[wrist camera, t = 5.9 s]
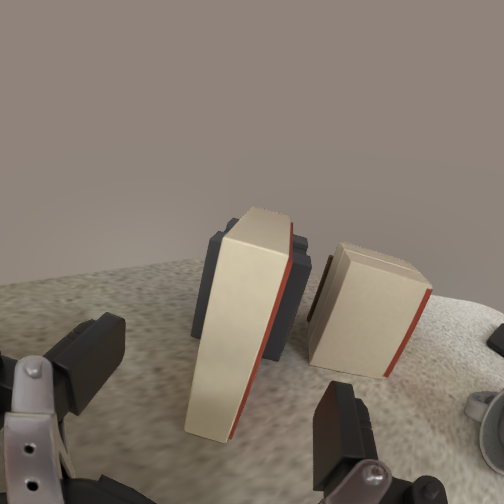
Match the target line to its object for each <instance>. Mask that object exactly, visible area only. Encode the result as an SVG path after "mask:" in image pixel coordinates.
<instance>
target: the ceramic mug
mask: <svg viewBox="0 0 504 504" xmlns="http://www.w3.org/2000/svg"><path fill="white" fill-rule="evenodd" d="M464 411H465V414H466V415H467V416H468V417H469V418H471V419H473V420H475V421H477V422H480V423H481V426H480V433H479V442H480V449H481V452H482V455H483V457H484V459H485V461H486V463H487V464H488V465H489V466H490V467H491V468H492V469H493V470H494V471H495V472H497V473H499V474H502V475H504V389H503V390H501V391H500V392H490V391H481V392H475V393H472V394H470V395H469V396H468V399H467V403H466V406H465V410H464Z"/></svg>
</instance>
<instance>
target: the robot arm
mask: <svg viewBox="0 0 504 504" xmlns="http://www.w3.org/2000/svg"><path fill="white" fill-rule="evenodd" d="M125 330H126V322H125V319H124V318H121V317H119V316H116V315H114V314H111V313H109V312H106V313H104V314H103V315H102V316H101V317H100V318H99V319H98V320H93V319H91V320H88V321H86V322H83V323H81V324H79V325H78V326H77V327H76V328H75V329H74V330H73V331H71V332H70V333H69V334H68V335H66V337H64V338H63V339H62V340H61V341H60V342H58V343H57V344H56V345H55V346H54V347H53V348H51V349H50V350H49V351H48V352H47V353H46V354H45V355H43V356H38V355H29V356H26V357H23V358H22V359H20V360H19V361H17V360H14V359H11V358H8V357H5V356H2V355H1V351H0V430H1V428H2V427H3V426H4V465H5V481H6V492H5V493H0V504H156V503H155V502H153V501H152V500H150V499H149V498H147V497H145V496H144V495H142V494H141V493H139V492H138V491H136V490H135V489H133V488H131V487H129V486H126V485H124V484H122V483H120V482H117V481H115V480H113V479H111V478H109V477H107V476H105V475H103V474H102V475H101V477H100V478H99V480H98V481H97V480H92V479H85V478H76V476H75V473H74V469H73V466H72V462H71V458H70V452H69V446H68V439H67V432H66V424H65V418H64V416H65V415H66V414H67V413H68V411H70V412H71V413H73V414H75V415H77V416H79V415H80V414H81V412H82V411H83V410H84V409H85V407H86V406H87V405H88V403H89V402H90V401H91V400H92V398H93V397H94V396H95V395H96V393H97V392H98V391H99V390H100V388H101V387H102V386H103V385H104V383H105V382H106V381H107V380H108V378H109V377H110V376H111V375H112V373H113V372H114V371H115V370H116V368H117V367H118V366H119V365H120V363H121V361H122V359H123V357H124V353H125ZM371 428H372V426H371V422H370V417H369V413H368V409H367V407H366V406H365V404H364V403H363V402H362V400H361V399H358V398H355V396H354V391H353V387H352V385H351V384H348V383H342V382H337V381H331V382H330V384H329V386H328V388H327V389H326V391H325V393H324V395H323V397H322V399H321V400H320V402H319V404H318V406H317V408H316V410H315V413H314V416H313V491H323V492H324V498H323V499H322V500H321V501H320V502H319V503H318V504H448V501H447V496H446V492H445V488H444V486H443V484H442V483H441V482H440V481H439V480H438V479H437V478H435V477H433V476H428V475H425V476H421V477H419V478H418V479H416V480H415V481H414V482H413V483H412V482H409V481H405V480H401V479H398V478H395V477H393V476H392V473H391V471H390V469H389V468H388V467H387V466H386V465H385V464H384V463H382V462H381V461H379V460H378V456H377V450H376V445H375V441H374V436H373V431H372V430H371Z"/></svg>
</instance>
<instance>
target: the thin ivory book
mask: <svg viewBox="0 0 504 504" xmlns="http://www.w3.org/2000/svg"><path fill="white" fill-rule="evenodd" d="M292 254H293V223H291V217H290V216H286V215H283V214H280V213H276V212H273V211H269V210H265V209H262V208H258V207H254V206H253V207H252V208H251V209H250V210H249V211H248V212H247V213H246V214H245V215H244V216H243V217H242V218H241V219H240V220H239V221H238V222H237V223H236V224H235V225H234V227H233V228H232V229H231V230H230V231H229V232H228V233H227V234H226V235H225V236H224V237H223V239H222V243H221V247H220V252H219V256H218V261H217V265H216V270H215V274H214V279H213V283H212V288H211V293H210V297H209V302H208V307H207V311H206V316H205V321H204V326H203V331H202V335H201V340H200V345H199V350H198V355H197V360H196V366H195V371H194V376H193V381H192V386H191V392H190V397H189V402H188V408H187V413H186V419H185V425H184V431H186V432H189V433H192V434H195V435H198V436H201V437H204V438H208V439H211V440H214V441H218V442H221V443H226V442H227V440H228V439H232V437H233V434H234V432H235V429H236V426H237V424H238V421H239V418H240V416H241V413H242V410H243V408H244V405H245V402H246V399H247V397H248V394H249V391H250V388H251V386H252V383H253V380H254V377H255V374H256V372H257V369H258V366H259V363H260V360H261V357H262V354H263V352H264V349H265V346H266V343H267V340H268V337H269V334H270V331H271V328H272V325H273V322H274V319H275V316H276V313H277V310H278V307H279V304H280V301H281V298H282V295H283V292H284V288H285V285H286V282H287V279H288V276H289V273H290V269H291V266H292Z"/></svg>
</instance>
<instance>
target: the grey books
mask: <svg viewBox="0 0 504 504" xmlns="http://www.w3.org/2000/svg"><path fill="white" fill-rule="evenodd" d="M238 221H239V219H236V218H233V219H231V220H230V221H229V222H228V223H227V227H226V230H225V231H224V232H221V231H218V232H217V233H216V234H215V235H214V236H213V237H211V238H210V241H209V245H208V250H207V255H206V260H205V264H204V269H203V274H202V279H201V284H200V289H199V294H198V300H197V305H196V310H195V315H194V321H193V326H192V332H191V336H192V337H195V338H198V339H201V335H202V331H203V326H204V321H205V316H206V311H207V307H208V302H209V297H210V293H211V288H212V283H213V279H214V274H215V270H216V265H217V261H218V256H219V252H220V247H221V243H222V239H223V237H224V236H225V235H226V234H227V233H228V232H229V231H230V230H231V229H232V228H233V227H234V225H235V224H236V223H237V222H238ZM307 248H308V241H307V238H304V237H301V236H297V235H294V234H293V254H292V266H291V269H290V273H289V276H288V279H287V282H286V285H285V288H284V292H283V295H282V298H281V301H280V304H279V307H278V310H277V313H276V316H275V319H274V322H273V325H272V328H271V331H270V334H269V337H268V340H267V343H266V346H265V349H264V352H263V354H262V358H266V359H270V360H274V361H279V359H280V356H281V353H282V351H283V348H284V345H285V343H286V340H287V337H288V335H289V332H290V329H291V327H292V324H293V321H294V318H295V315H296V313H297V310H298V307H299V304H300V301H301V298H302V296H303V293H304V290H305V287H306V284H307V281H308V278H309V275H310V272H311V269H312V265H311V259H310V256H307V255H306V251H307Z"/></svg>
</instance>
